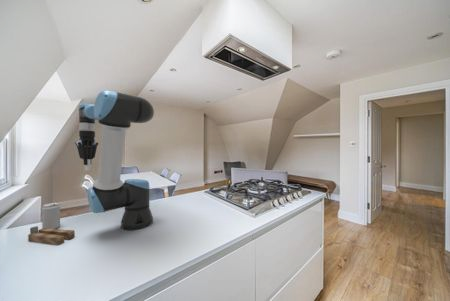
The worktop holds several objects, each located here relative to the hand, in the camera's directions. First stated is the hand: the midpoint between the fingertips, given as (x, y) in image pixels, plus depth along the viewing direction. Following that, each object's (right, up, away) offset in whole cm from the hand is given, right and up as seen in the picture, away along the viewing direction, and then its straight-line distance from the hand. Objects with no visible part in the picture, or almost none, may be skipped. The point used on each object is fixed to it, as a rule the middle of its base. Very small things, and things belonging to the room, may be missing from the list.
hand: (87, 170), depth 108 cm
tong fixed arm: (+5, -27, -30) cm, 41 cm away
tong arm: (+7, -27, -27) cm, 39 cm away
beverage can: (-4, -27, -19) cm, 33 cm away
